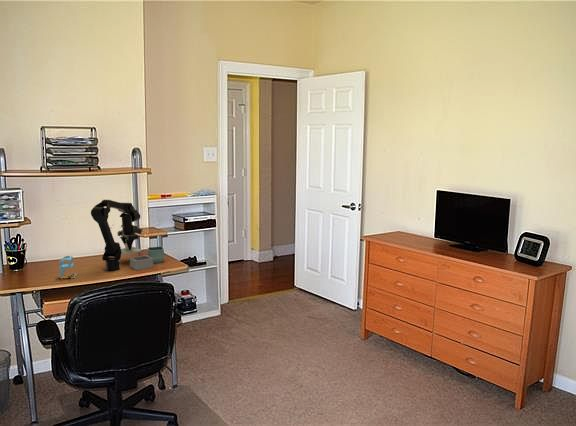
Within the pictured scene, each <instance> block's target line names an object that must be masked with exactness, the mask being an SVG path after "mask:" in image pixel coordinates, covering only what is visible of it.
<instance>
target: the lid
mask: <svg viewBox="0 0 576 426" xmlns="http://www.w3.org/2000/svg"><path fill="white" fill-rule="evenodd" d="M141 252H142V249H140V248H138V247H136V246H132V248H131V250H129V248H128V246H127V244H126V243H125V245H124V248H121V255H129V254H135V253H141Z"/></svg>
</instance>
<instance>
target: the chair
mask: <svg viewBox="0 0 576 426" xmlns="http://www.w3.org/2000/svg"><path fill="white" fill-rule="evenodd" d="M65 261H66V262H68V263H64V262H65ZM58 262H59V267H58V269H59V270H60V273H59V276H58V278H59V277H62V275H63V276H64V274H65V271H66V270H67V269H72V268H73V267H74V266H75V262H73V256H72V255H67V256H64V257H61V258H60V260H59V261H58ZM74 274H75V275H76V274H77V273H74ZM75 275H74V276H71V277H72V278H73V277H75ZM75 278H76V277H75Z"/></svg>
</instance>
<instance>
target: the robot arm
mask: <svg viewBox="0 0 576 426" xmlns="http://www.w3.org/2000/svg"><path fill="white" fill-rule="evenodd" d="M111 209H115V210H117V211H118V212H120V215H119V217H120V218H121V225H120V227H121V228H122V229H121V230H118V232H117V237H119V239H120V240H121V241H122V243H123V245H124V246H125V243H126V244H127V246H128V248H129V250H131V248H132V247H133V243H134V241H135V240H139V237H140V236H139V235H142V233H143V229H142V228H139V227H138V225H133V223H134V222H137V221H139V220H140V219H141V214H140V212H138V209H135V207H134V204H133V203H131V202H118V201H115V200H112V199H102V200H101V202H99V203H97V204H96V205H94V207H92V209H91V210H90V215H91V218H92V219H93V220H94V221H95V222H96V223H97V224H98V227H99V229H100V232H101V235H102V237H103V241H104V243H105V246H104V252H103V254H102V257H101V258H102V261H105V269H104V270H105V271H106V272H109V273H110V272H115V271H120V269H121V267H120V261H121V259H122V254H121V249H122V247H121V243H120V242H116V241H115V238H114V236H113V234H112V230H111V227H110V225H109V223H108V219H109V214H110V212H111ZM138 234H139V235H138Z"/></svg>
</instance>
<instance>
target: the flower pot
mask: <svg viewBox="0 0 576 426" xmlns="http://www.w3.org/2000/svg"><path fill="white" fill-rule="evenodd" d="M147 253H148V256H149V257H151V258H153V264H159V263H163V261H164V260H163V259H164V256H165V249H164V247H163V245H161V246H160V245H159V246H152V247H151V246H150V247H147Z"/></svg>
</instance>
